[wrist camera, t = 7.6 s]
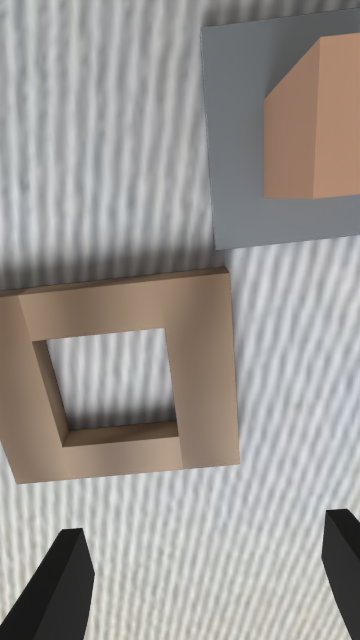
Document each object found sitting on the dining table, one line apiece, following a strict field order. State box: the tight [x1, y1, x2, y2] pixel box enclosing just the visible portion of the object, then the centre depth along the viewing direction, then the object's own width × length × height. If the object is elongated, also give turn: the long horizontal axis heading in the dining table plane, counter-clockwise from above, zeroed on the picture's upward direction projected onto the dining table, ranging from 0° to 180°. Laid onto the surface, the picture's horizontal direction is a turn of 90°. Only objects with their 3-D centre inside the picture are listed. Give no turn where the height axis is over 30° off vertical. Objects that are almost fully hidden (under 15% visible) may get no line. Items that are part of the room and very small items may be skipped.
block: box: [264, 33, 360, 199], centre depth 12 cm, size 4×4×6 cm
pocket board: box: [0, 267, 240, 484], centre depth 19 cm, size 14×12×2 cm
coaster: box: [200, 7, 360, 250], centre depth 15 cm, size 9×9×1 cm
